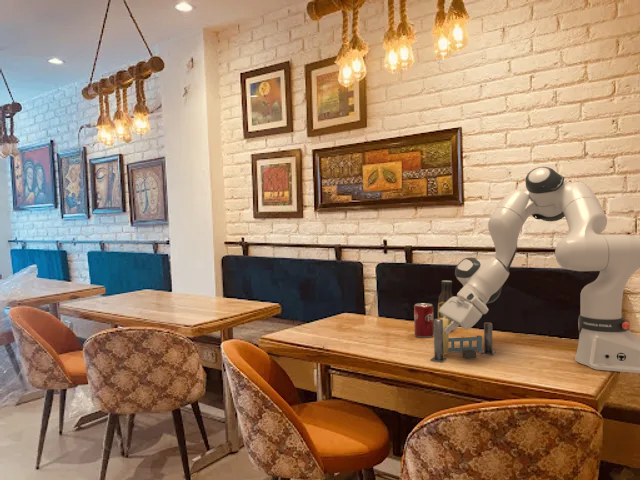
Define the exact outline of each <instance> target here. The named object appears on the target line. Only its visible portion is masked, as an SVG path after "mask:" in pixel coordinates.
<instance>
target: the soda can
mask: <svg viewBox="0 0 640 480" xmlns="http://www.w3.org/2000/svg"><path fill="white" fill-rule="evenodd" d="M434 308H435V307H434V305H433V304H432V303H425V302H423V303H422V302H420V303H419V302H418V303H415V304H414V305H413V309H414V310H413V318H414V320H413V321H414V324H413V325H414V336H415V337H416V338H420V339H421V338H423V339H427V338H428V339H429V338H432V337H434V319H435V318H434V315H435V314H434Z"/></svg>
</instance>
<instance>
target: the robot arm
mask: <svg viewBox="0 0 640 480" xmlns="http://www.w3.org/2000/svg"><path fill="white" fill-rule="evenodd" d="M525 188H526V190H527V191H524V190H521V189H520V190H519V189H515V190H512V191H510V192H509V193H508V194H506V195H505V197H504V198H503V199H502V200H501V201H500V202H499V204H498V205H497V206H496V208H495V209H494V211H493V212H492V213H491V215H490V217H489V219H488V222H487V223H488V224H487V227H488V232H489V235H490V237H491V239H492V242H493V246H494V250H495V256H492V257H490V258H488V259H481V258H480V259H478V258H475V257H465V258H463V259H462V260H460V262H458V264H457V265H456V266H455V270H454V276H455V277H456V280H458V281H459V282H460V284H461V285H462V288H460V289H459V291H458V292H457V294H456V295H455V296H454V297H451V298H450V299H449V300H448V301H447V302H446V303H444V305H443V306H442V307H441V308H440V309H439V312H440V313H441V314H442V315H443V316H444V317H443V318H447V319H448V323H449V322H450V321H452V322H451V324H450V325H448V326H446V327H445V328H444V329H443V331H444V332H445V333H446V334H448V335H450V333H451V332H453V331H454V330H456V329H457V328H458V327H461V328H463V329H465V330H467V331H468V330H469V329H471V328H473V326H475V325H476V324H477V323H478V322H479V320H480V319H481V318H482V316H483V315H486V314H487V313H488V312H489V308H488V307H487V304H491V303H493V302H495V301H497V299H498V298H499V297H500V295H501V292H502V289H503V285H504V284H505V282H506V281H507V279H508V278H509V276H510V270H509V269H510V268H511V266H512V263H513V261H514V259H515V256H516V253H517V251H518V242H519V241H518V240H519V236H520V233H521V230H522V228H523V226H524V225H525V223H526V221H527V220H528V218H529V217H530V216H532V217H533V218H534V219H535V220H541V221H543V222H556V221H560V220H562V219H563V218H565V220H566V223H567V227H568V233H567V235H566V236H564V237H562V238H561V239H560V240H559V242H558V243H557V244H556V247H555V250H554V253H555V254H554V256H555V260H556V261H557V263H558V265H559V266H560V267H561V268H562V269H565V270H570V271H576V272H599V274H598V275H597V278H596V279H595V280H593V281H591V282H590V283H587V284H586V285H584V287H583V288H582V289H581V292H580V298H579V299H580V301H579V302H580V306H579V307H580V311H579V312H580V314H579V315H578V323H577V324H578V327H577V328H578V333H579V335H578V336H579V337H578V344H577V348H576V353H575V356H574V361H575V362H577V363H578V364H582V365H584V366H588V367H589V368H590V369H594V370H597V371H609V372H620V373H633V374H640V337H638V336H637V335H636V334H635V333H633V332H632V331H630V328H631V324H630V320H629V319H628V318H627V319H626V318H625V317H623V316H622V307H623V295H624V291H625V287H626V285H627V284H628V282H629V280H630V279H631V277H632V276H633V275H634V274H635V273H636V272H637V271H638V270H640V236H635V235H629V234H602V232H604V230H606V227H607V224H608V218H607V215H606V213H605V212H604V208H603V207H602V205H601V203H600V201H599V199H598V197H597V196H596V194H595V193H594V192H593V190H592V189H591V188H590V186H588V185H587V184H586V183H584V182H580V181H575V182H570V183H567V182H565V176H563V175H562V174H560V173H558V172H556V171H555V170H554V169H553V168H551V167H548V166H538V167H535V168H533V169H531V170H530V171H529V172H528V173H527V175H526V177H525ZM452 330H453V331H452Z"/></svg>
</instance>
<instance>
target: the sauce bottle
mask: <svg viewBox="0 0 640 480" xmlns="http://www.w3.org/2000/svg"><path fill="white" fill-rule="evenodd" d="M452 285H453V281H452V280H441V292H440V294H439V296H438V302H437V303H438V304H437V319H440V318H443V317H444V316H443V315H442V314H441V313H440V312H439V309H440V308H441V307H442V306H443V305H444V303H446V302H447V301H448V300H449V299H450V298H451V297H455V296H454V294H453V293H452ZM451 322H452V321H450V322H449V323H448V325H450V324H451ZM453 331H454V330H452V331H451V332H453Z"/></svg>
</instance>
